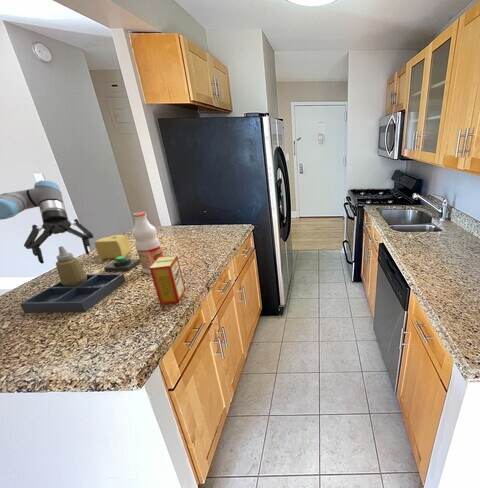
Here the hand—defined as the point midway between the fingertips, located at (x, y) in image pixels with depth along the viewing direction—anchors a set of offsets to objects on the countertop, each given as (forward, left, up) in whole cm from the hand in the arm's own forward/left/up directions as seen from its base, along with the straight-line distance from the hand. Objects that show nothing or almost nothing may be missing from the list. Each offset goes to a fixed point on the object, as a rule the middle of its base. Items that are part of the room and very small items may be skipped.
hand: (65, 257), depth 105 cm
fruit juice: (+24, +15, -14) cm, 32 cm away
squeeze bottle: (+1, -1, -13) cm, 13 cm away
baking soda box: (+45, -9, -14) cm, 48 cm away
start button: (+7, +18, -10) cm, 22 cm away
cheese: (-7, +33, -14) cm, 37 cm away
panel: (+7, +18, -14) cm, 24 cm away
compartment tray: (+7, -7, -14) cm, 17 cm away
